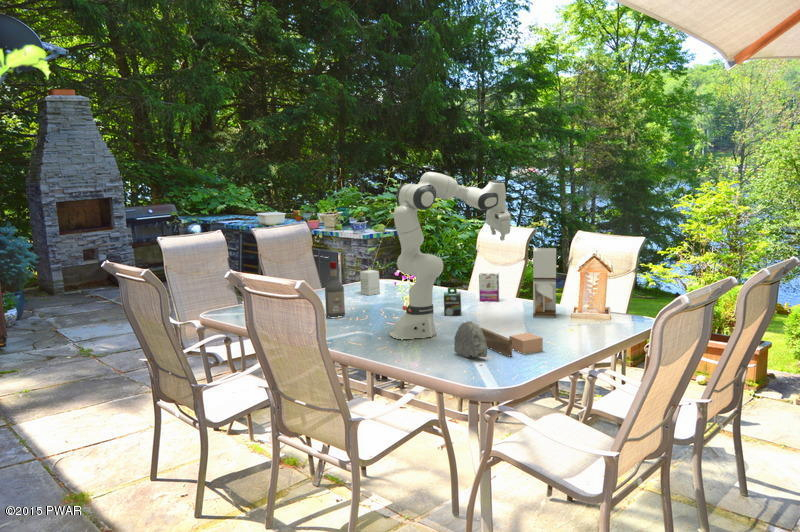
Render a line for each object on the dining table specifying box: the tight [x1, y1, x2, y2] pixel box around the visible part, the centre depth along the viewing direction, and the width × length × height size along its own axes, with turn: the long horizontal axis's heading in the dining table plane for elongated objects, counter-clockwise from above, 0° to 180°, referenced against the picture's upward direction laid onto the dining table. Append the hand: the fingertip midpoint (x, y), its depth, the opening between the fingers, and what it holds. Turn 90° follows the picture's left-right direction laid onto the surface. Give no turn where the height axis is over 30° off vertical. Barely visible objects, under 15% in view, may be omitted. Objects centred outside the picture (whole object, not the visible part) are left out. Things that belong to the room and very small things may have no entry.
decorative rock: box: [453, 320, 488, 359], centre depth 262 cm, size 16×7×15 cm, turn 33°
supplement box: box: [359, 269, 381, 296], centre depth 402 cm, size 9×9×15 cm
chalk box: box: [443, 287, 462, 317], centre depth 340 cm, size 9×9×15 cm
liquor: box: [324, 261, 346, 318], centre depth 341 cm, size 9×9×30 cm
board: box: [480, 327, 513, 357], centre depth 272 cm, size 2×24×7 cm, turn 25°
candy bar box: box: [478, 272, 500, 302], centre depth 370 cm, size 11×5×16 cm, turn 73°
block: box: [508, 332, 544, 354], centre depth 270 cm, size 10×10×6 cm
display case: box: [532, 247, 557, 319], centre depth 328 cm, size 11×11×35 cm
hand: (497, 237), depth 321 cm, fingers open, 8 cm apart
